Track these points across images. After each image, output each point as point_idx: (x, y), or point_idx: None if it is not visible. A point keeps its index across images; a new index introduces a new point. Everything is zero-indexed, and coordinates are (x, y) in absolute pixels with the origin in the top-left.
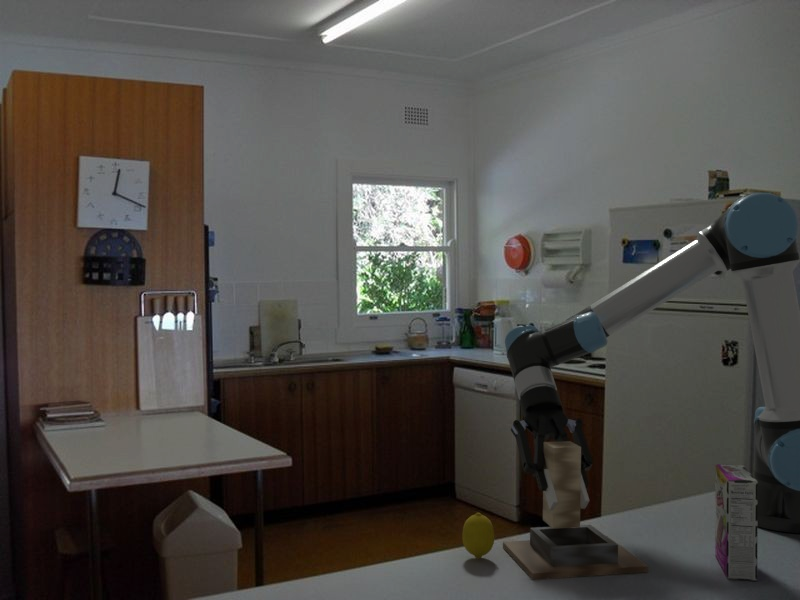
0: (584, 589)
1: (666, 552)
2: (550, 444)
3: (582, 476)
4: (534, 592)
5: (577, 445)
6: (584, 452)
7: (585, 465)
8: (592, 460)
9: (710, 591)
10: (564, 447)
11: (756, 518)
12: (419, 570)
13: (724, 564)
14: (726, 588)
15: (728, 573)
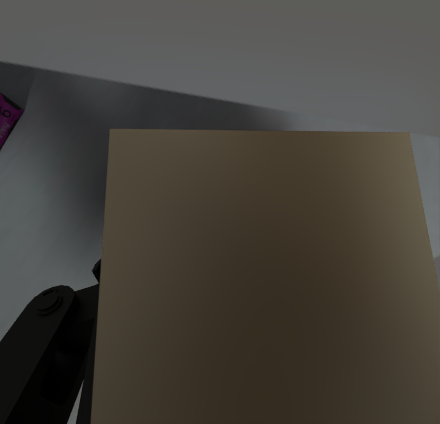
0: (232, 113)
1: (42, 227)
2: (412, 310)
3: None
4: (295, 115)
5: (111, 218)
6: (16, 387)
7: (92, 295)
8: (24, 309)
9: (76, 80)
10: (297, 135)
11: None
12: (425, 206)
13: (2, 113)
14: (48, 84)
15: (15, 104)
